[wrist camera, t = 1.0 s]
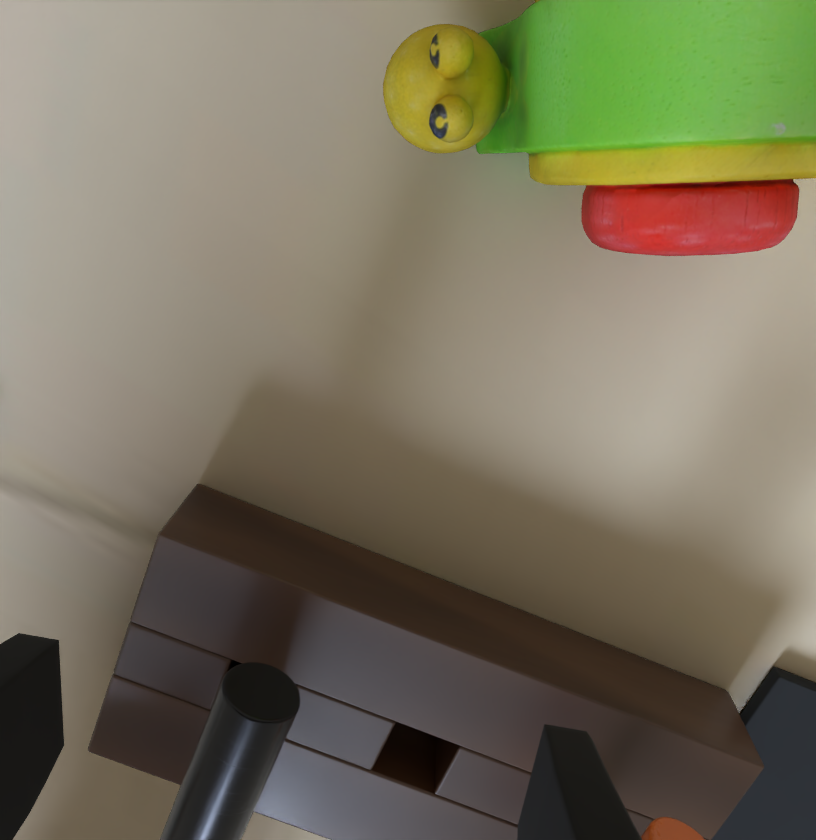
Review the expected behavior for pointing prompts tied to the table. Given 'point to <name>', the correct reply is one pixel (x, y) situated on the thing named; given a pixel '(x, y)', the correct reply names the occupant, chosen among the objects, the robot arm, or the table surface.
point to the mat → (779, 763)
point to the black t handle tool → (234, 754)
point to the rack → (399, 688)
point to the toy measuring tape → (632, 112)
